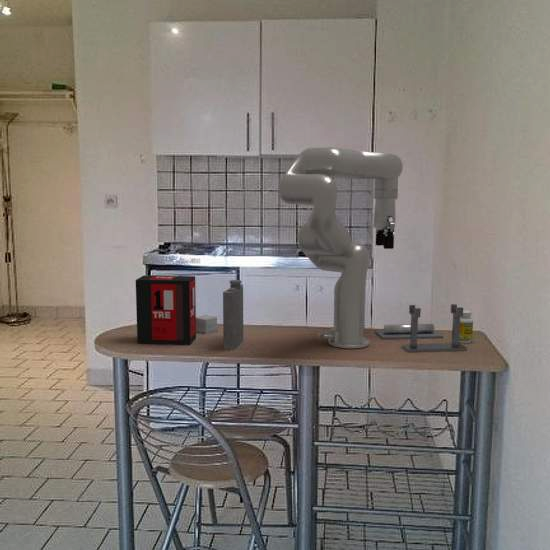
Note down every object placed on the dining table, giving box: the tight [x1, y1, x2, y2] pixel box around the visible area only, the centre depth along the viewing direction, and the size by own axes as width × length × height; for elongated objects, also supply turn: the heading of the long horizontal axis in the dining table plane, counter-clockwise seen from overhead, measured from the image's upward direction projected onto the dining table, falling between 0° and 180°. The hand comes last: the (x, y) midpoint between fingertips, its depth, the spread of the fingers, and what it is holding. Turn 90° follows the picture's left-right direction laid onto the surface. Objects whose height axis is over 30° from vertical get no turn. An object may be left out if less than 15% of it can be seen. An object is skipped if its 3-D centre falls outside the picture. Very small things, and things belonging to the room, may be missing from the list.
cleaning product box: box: [135, 275, 197, 346], centre depth 200 cm, size 16×9×20 cm, turn 85°
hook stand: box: [401, 303, 468, 353], centre depth 192 cm, size 18×6×13 cm, turn 96°
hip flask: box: [222, 279, 244, 352], centre depth 196 cm, size 16×4×20 cm, turn 170°
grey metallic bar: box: [383, 323, 435, 334], centre depth 210 cm, size 16×3×3 cm, turn 96°
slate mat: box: [374, 329, 444, 340], centre depth 210 cm, size 20×9×1 cm, turn 96°
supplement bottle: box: [459, 309, 474, 344], centre depth 202 cm, size 5×5×10 cm
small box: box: [196, 314, 218, 335], centre depth 214 cm, size 6×6×5 cm
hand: (384, 246), depth 212 cm, fingers open, 9 cm apart
